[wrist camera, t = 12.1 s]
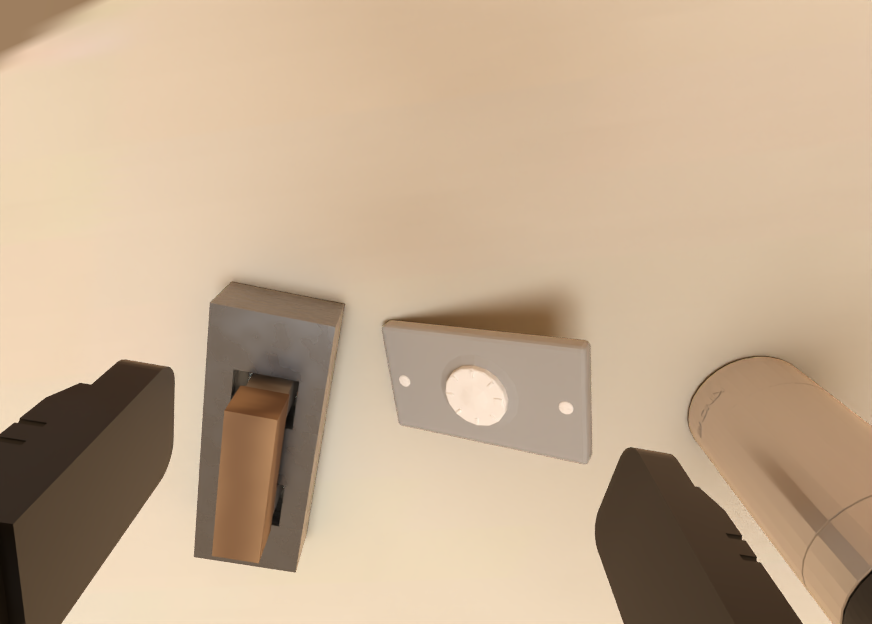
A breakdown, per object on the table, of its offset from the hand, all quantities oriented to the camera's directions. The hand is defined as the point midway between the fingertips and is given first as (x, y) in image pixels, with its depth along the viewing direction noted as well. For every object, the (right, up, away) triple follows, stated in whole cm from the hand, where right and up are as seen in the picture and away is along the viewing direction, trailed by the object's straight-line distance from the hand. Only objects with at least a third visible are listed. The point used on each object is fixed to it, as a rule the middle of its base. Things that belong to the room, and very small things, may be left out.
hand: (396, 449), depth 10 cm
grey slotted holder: (-12, -6, +33) cm, 35 cm away
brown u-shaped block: (-12, -6, +33) cm, 35 cm away
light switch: (+4, -1, +31) cm, 31 cm away
